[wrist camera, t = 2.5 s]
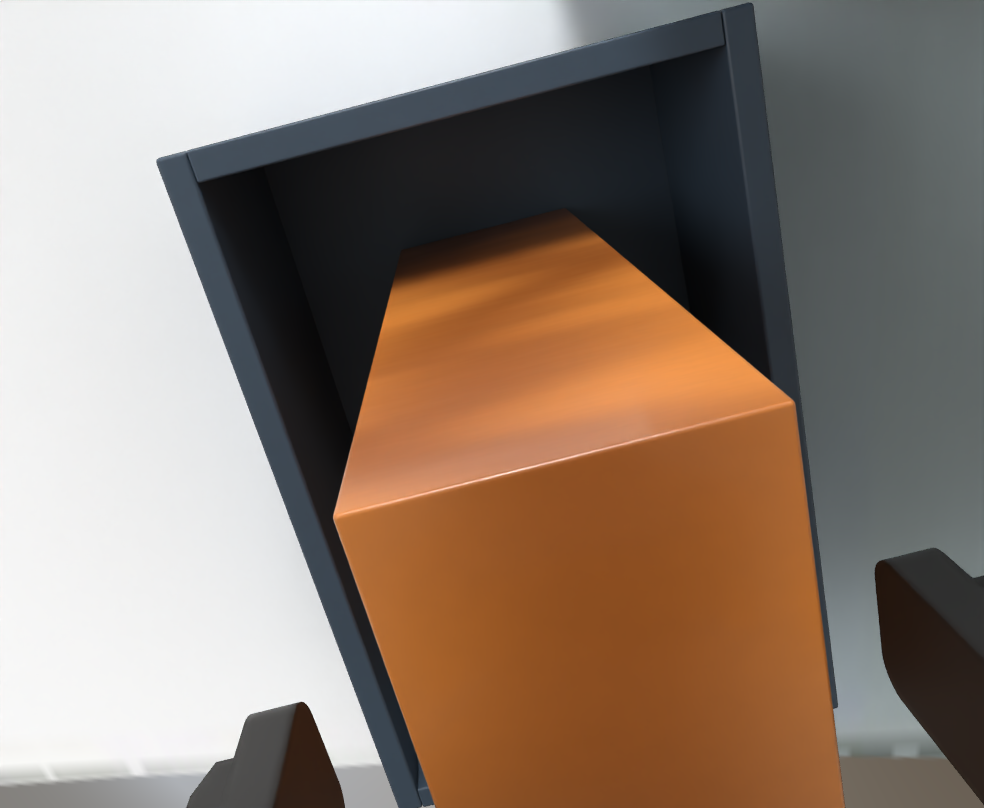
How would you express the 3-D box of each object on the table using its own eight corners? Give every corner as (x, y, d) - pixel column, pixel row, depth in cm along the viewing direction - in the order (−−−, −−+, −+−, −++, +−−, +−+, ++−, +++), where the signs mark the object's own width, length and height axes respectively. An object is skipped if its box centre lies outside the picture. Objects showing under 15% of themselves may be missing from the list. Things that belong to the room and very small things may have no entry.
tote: (662, 30, 21) (754, 1, 15) (747, 569, 27) (839, 708, 20) (235, 142, 21) (153, 158, 15) (408, 652, 27) (399, 813, 21)
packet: (565, 207, 22) (797, 399, 8) (628, 503, 25) (873, 1026, 11) (400, 249, 22) (330, 517, 8) (483, 539, 25) (538, 1102, 11)
